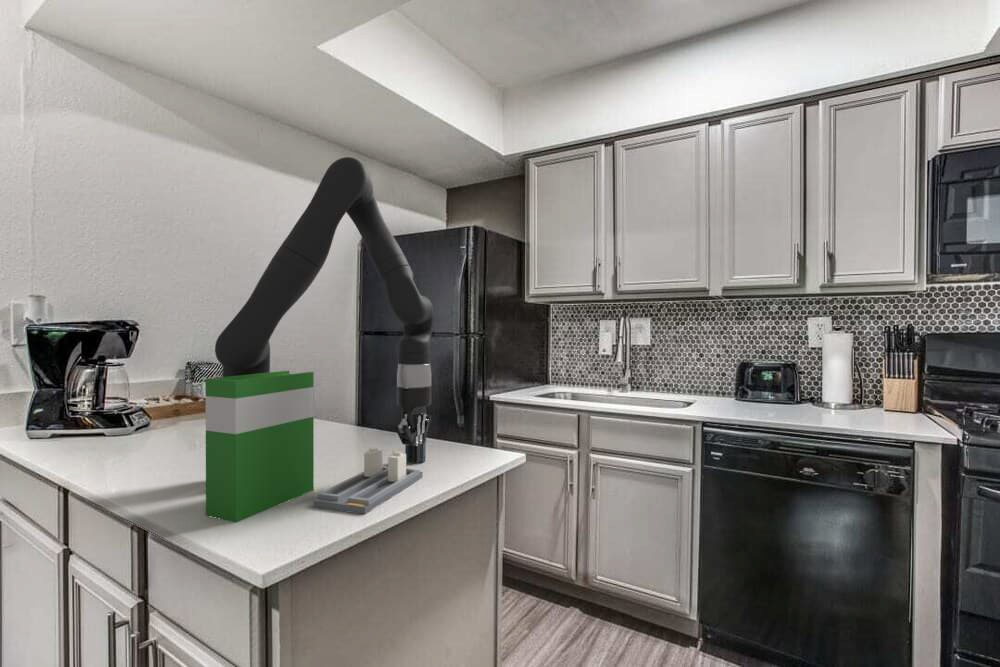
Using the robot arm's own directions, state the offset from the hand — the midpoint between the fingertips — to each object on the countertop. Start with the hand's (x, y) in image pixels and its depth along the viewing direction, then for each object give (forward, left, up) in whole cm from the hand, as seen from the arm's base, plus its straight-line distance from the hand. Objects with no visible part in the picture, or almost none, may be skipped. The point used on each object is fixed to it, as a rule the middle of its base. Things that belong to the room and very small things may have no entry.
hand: (414, 461), depth 108 cm
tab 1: (-7, -6, -2) cm, 9 cm away
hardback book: (-19, -23, -4) cm, 30 cm away
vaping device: (-5, +11, -3) cm, 12 cm away
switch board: (-3, -11, -3) cm, 12 cm away
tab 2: (0, -7, -2) cm, 8 cm away
